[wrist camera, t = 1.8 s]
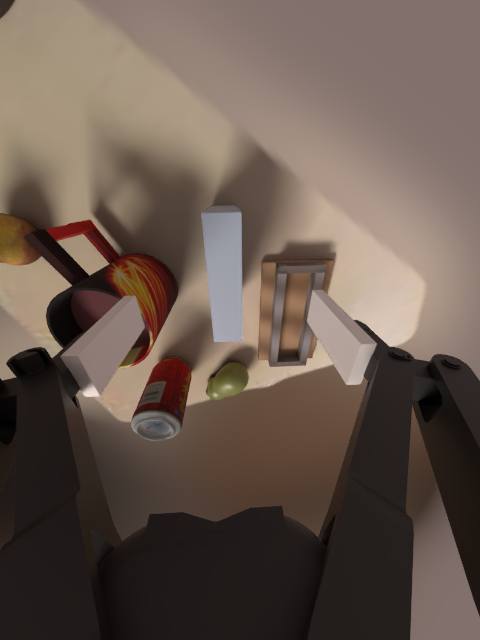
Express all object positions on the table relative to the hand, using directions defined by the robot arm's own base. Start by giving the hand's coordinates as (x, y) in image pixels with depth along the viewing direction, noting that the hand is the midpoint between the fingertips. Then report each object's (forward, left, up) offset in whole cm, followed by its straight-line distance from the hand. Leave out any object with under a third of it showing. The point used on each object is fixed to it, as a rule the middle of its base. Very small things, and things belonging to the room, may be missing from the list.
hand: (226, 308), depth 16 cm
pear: (+23, -1, -16) cm, 28 cm away
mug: (+3, -14, -16) cm, 21 cm away
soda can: (+21, -11, -16) cm, 28 cm away
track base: (+10, +10, -15) cm, 21 cm away
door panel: (0, 0, -15) cm, 15 cm away
